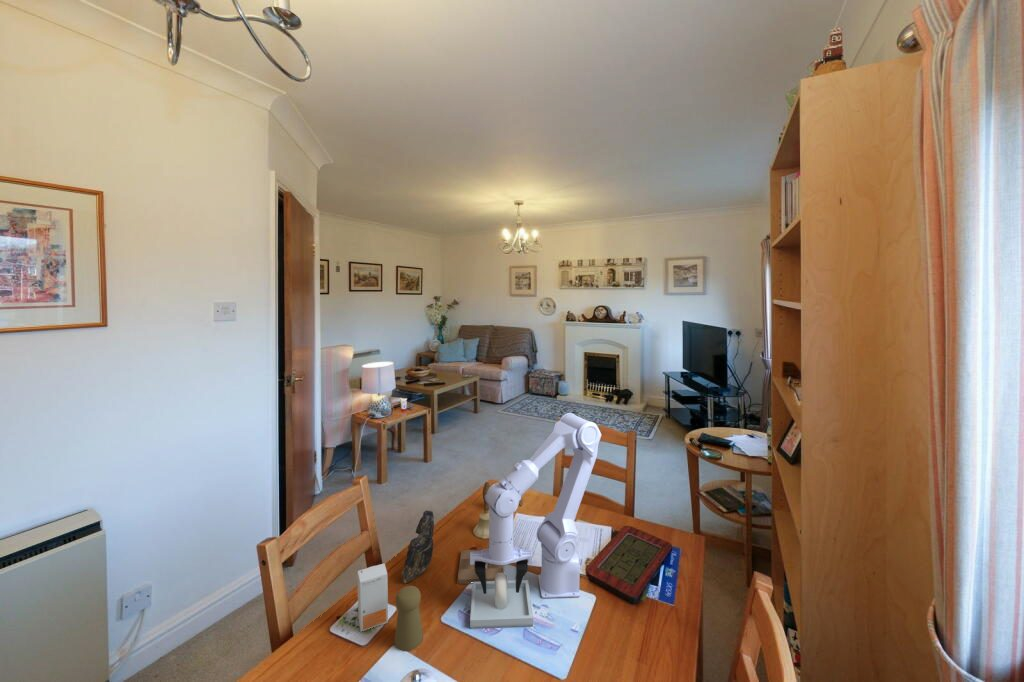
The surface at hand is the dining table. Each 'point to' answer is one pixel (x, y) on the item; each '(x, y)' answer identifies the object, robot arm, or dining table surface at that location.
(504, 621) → the grey tray
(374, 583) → the skincare box
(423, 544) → the statue
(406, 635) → the olive game pawn
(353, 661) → the dining table surface
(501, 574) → the dowel
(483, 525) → the hand bell
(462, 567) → the brown square board
